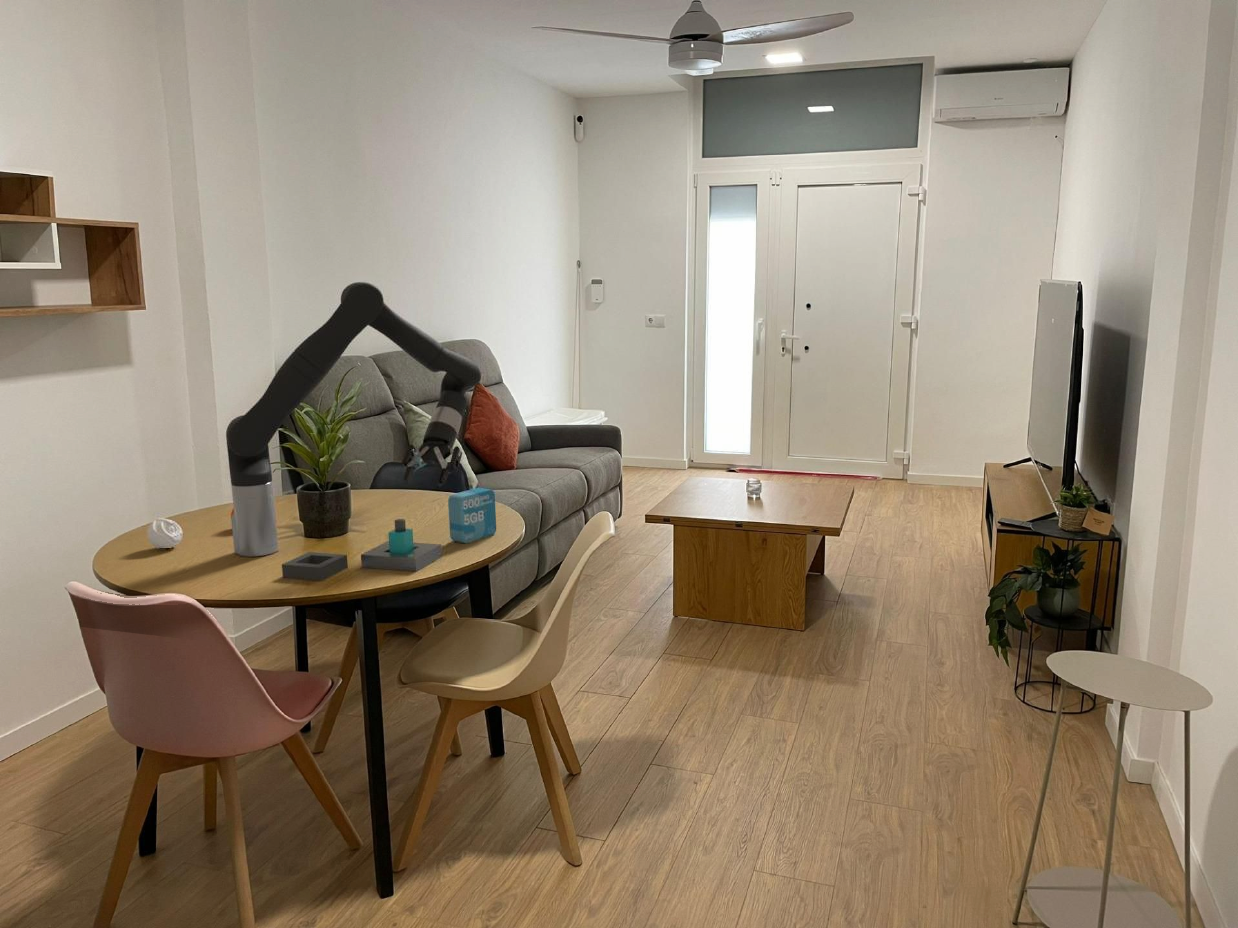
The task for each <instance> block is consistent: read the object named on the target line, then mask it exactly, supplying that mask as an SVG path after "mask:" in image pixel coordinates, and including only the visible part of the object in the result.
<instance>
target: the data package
mask: <svg viewBox="0 0 1238 928" xmlns="http://www.w3.org/2000/svg"><path fill="white" fill-rule="evenodd" d="M447 504H448V505H447V506H448V522H449V536H450V537H449V538H450V540H452V541H453V542H457V543H462V544H469V543H471V542H470V541H472V542H475V540H476V541H479V540H482V539H485V538H487V537H488V536H489V537H491V536H493V535H495V533H496V532H497V514H496V513H497V512H496V495H495V491H494V490H493V489H491V488H483V487H475V488H472V489H468V490H464V491H461V492H456V493H453V494H450V495H449V497H448V500H447ZM481 538H482V539H481ZM468 542H469V543H468Z"/></svg>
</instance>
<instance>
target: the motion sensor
mask: <svg viewBox="0 0 1238 928" xmlns="http://www.w3.org/2000/svg"><path fill="white" fill-rule="evenodd" d="M146 535H147V539H148V540H149V543H151V545H152V546H153V547H154V548H156V547H157V548H156V549H159V548H164V547H171V546H175V545H176V546H177V545H179V543H181V541H182V540H183V529H182V528H181V526H180V525H179V524H178V523H177V522H176V521H174V520H171V519H167V518H163V517H158V518H157V519H155V520H153V521H152V522H151V523H150V524H149V526H148V527H147V531H146ZM176 546H175V547H176Z"/></svg>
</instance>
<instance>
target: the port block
mask: <svg viewBox="0 0 1238 928" xmlns="http://www.w3.org/2000/svg"><path fill="white" fill-rule="evenodd" d="M413 544H414V550H413V551H411V552H409V553H407V554H401V553H390V550H389V540H387V541H386V542H383V543H382V544H379V545H378V546H374V547H373V548H372V549H369V550H367V551H365V552H363V553H361V554H360V561H361V568H367V569H378V570H392V571H405V572H414V573H415V572H418V571H420V570H422V569H423V568H425V567H427V566H429V565H430V564H432V563H434V562H435V561H437V560H439V559H440V558H442V557H441V556H443V555H442V544H441V543H440V544H438V543H427V542H414V541H413ZM438 558H439V559H438ZM433 561H434V562H433Z"/></svg>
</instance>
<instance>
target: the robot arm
mask: <svg viewBox="0 0 1238 928" xmlns="http://www.w3.org/2000/svg"><path fill="white" fill-rule="evenodd" d="M367 326H369V327H371V328H373V329H374V330H376V331H377V332H378V333H380V334H382V335H384V337H386V338H387V339H388V340H390V341H392V343H394V344H395V345H396V346H398V347H399V348H400V349H401V350H403V352H405V353H407V354H408V355H409V356H410V357H412V358H413V359H414V360H415V361H417V362H418V363H419V364H420V365H422V366H423V367H425V368H426V369H427V370H429V371H430V372H433V373H438V372H444V376H443V378H442V380H441V384H440V392H439V393H440V394H439V395H440V396H439V399H438V401H437V405H436V407H435V409H434V411H433V413H432V415H431V418H430V420H429V423H428V425H427V427H426V429H425V432H424V436H423V438H422V444H420V446H414V445H413V444H410V445H409V446H408V447H407V450H406V452H405V454H404V457H403V458H402V461H401V465H402V466H403V468H404V469H405V470H406V471H405V473H404V475H403V480H404V481H405V483H406V485H411V484H412V483H413V479H414V477H415V474H416V471H417V470H419V469H420V468H423V467H424V466H427V465H429V466H430V465H434V466H439V465H440V466H441V468H440V469H439V472H438V474H437V477H436V480H435V482H436V485H437V486H438V487H443V485H444V484H446V482H447V479H448V476H449V474H451V473H452V472H453V473H457V472H458V470H459V467H460V464H461V460H462V456H463V452H462V450H461V448H460V447H459V446H457V445H456V446H454V445H455V442H456V440H457V436H458V435H459V431H460V428H461V425H462V420H463V417H464V415H465V411H466V408H467V404H468V403H467V402H468V401H467V398H466V396H465V394H466V392H467V391H469V390H471V389H473V388H474V387H475V386H477V385H478V384H479V383H480V382H481V379H482V374H481V370H480V368H479V366H478V365H477V364H476V363H475V362H474V361H472V360H471V359H469V358H468V357H465V356H463V355H461V354H458V353H457V352H454V351H452V350H449V349H447V347H445V346H444V345H442V344H441V343H440V342H438V341H437V340H436V339H435V338H433V337H432V336H430V334H428V333H427V332H425V331H423V330H421V328H419V327H417V326H416V325H413V324H412V323H411V322H409V321H408V320H406V319H405V318H403V317H402V316H400V314H398V313H396V312H395V311H394V310H392V309H391V308H390V306H388V305H387V304H386V303H385V302H384V296H383V294H382V291H381V290H380V289H379V288H378V287H377V286H376V285H374V284H373V283H369V282H366V281H365V282H364V281H363V282H361V281H360V282H358V281H357V282H352V283H350V284H349V285H347V286H346V287H345V288H344V289H343V290H342V292H341V294H340V304H339V305H338V307H337V308H336V309H335V311H334V312H332V315H331V316H330V317H329V319H328V320H327V321H325V323H324V324H322V325H321V327H319V328H318V329H317V330H316V331H314V332H313V333H311V334H310V335H309V336H308V337H307V338H306V339H304V340H303V341H302V342H301V343H300V344H299V345H298V346H297V347H296V348H295V349H294V351H292V353H291V354H290V355H289V356H288V357H287V358H286V359H285V361H284V362H283V363H282V365H281V366H280V368H279V369H278V370H277V372H276V373H275V374H274V376H273V377H272V380H271V381H270V383H269V385H268V386H267V388H266V390H265V392H264V393H263V394H262V396H261V397H260V398H259V399H258V401H257V402H256V403H255V404H254V405H253V406H252V407H251V408H250V409H249V410H248V411H247V412H246V413H245V414H244V415H238V416H237V417H234V419H232V420H231V421H230V422H229V423H228V425H227V426H226V427H227V428H226V433H225V437H226V438H225V439H226V448H227V450H226V451H227V457H228V469H229V477H230V485H231V495H232V496H231V497H232V503H233V509H234V514H233V515H232V516H231V515H230V519H231V530H232V539H233V540H232V541H233V549H234V550H233V551H234V554H236V555H239V556H241V557H261V556H267V555H270V554H274V553H276V552H277V551H279V549H280V548H279V539H278V529H277V517H276V505H275V495H274V485H273V474H272V466H271V459H270V447H269V444H270V442H271V440H272V439H273V438H274V436H275V434H276V433H277V431H278V430H279V429H280V427H281V426H282V424H283V423H284V421H285V420H287V418H288V417H289V415H290V414H291V413H292V412H294V410H296V408H298V406H299V405H301V404H302V403H303V401H305V400H306V399H307V397H309V395H310V394H312V392H313V391H314V390H315V389H316V388H317V387H318V386H319V385H320V383H321V382H322V380H324V379H325V377H326V376H327V374H329V372H330V371H331V370H332V368H333V367H334V366H335V365H336V364H337V362H338V361H339V359H341V356H342V355H343V354H344V353H345V351H346V349H347V348H348V347H349V345H350V344H351V343H352V342H353V340H354V339H355V338H356V337H357V336H358V335H359V334H361V332H362V331H364V330H365V328H367ZM449 457H451V458H450V462H449V464H448V462H447V460H446V459H448V458H449ZM420 459H421V460H420Z"/></svg>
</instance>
